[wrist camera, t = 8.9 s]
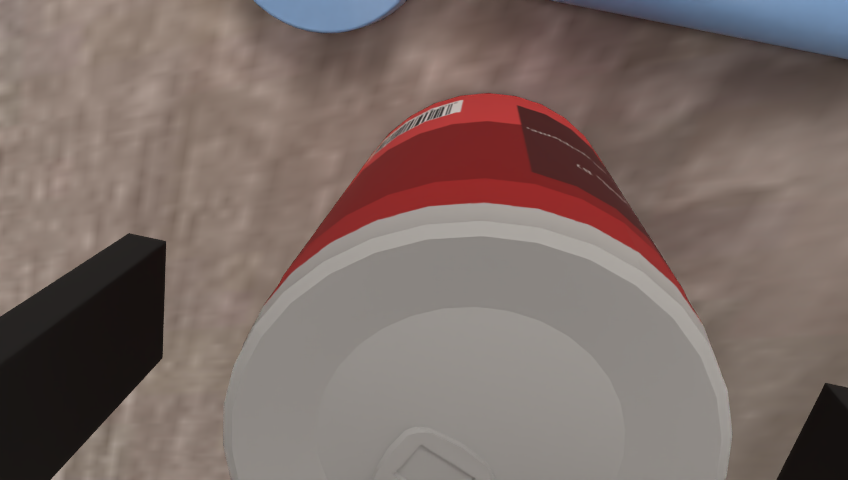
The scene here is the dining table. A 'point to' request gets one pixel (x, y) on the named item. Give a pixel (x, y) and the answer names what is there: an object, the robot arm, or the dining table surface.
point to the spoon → (668, 3)
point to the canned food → (479, 323)
